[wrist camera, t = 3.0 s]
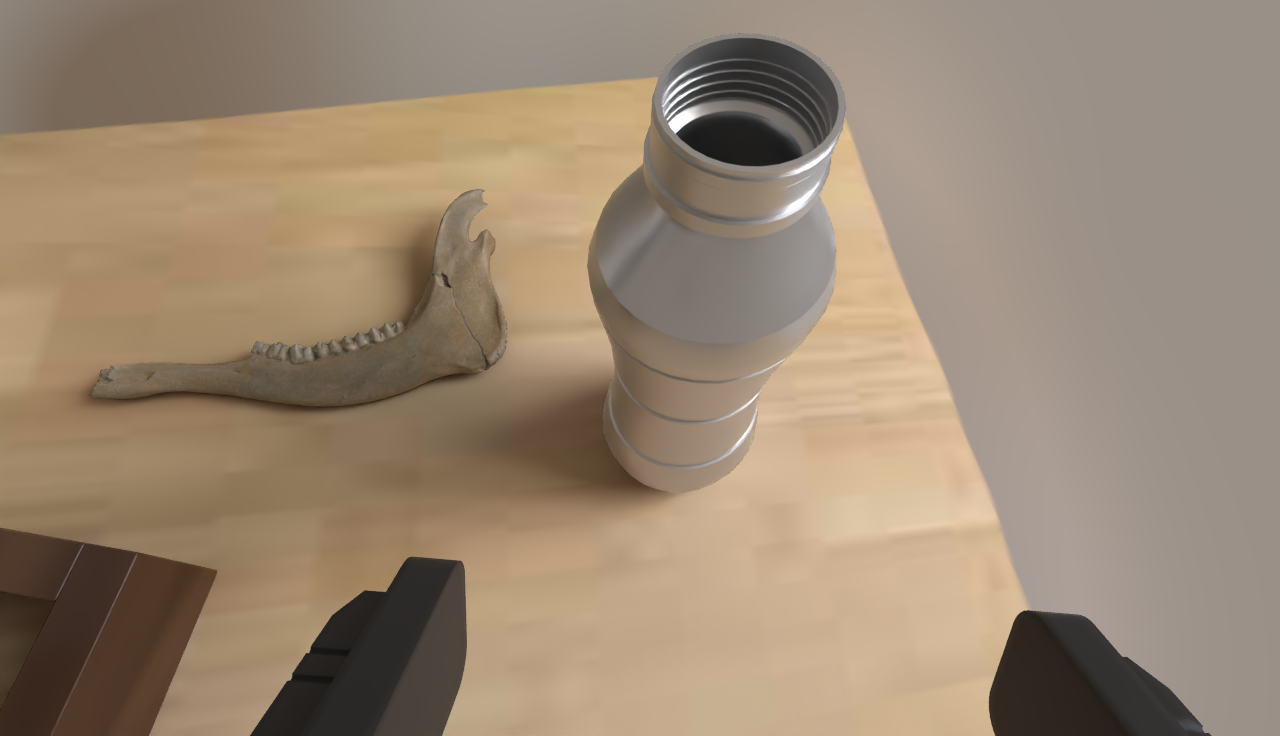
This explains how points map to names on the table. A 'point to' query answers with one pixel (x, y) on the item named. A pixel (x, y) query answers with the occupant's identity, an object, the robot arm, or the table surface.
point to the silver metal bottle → (715, 253)
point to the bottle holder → (97, 635)
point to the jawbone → (361, 340)
